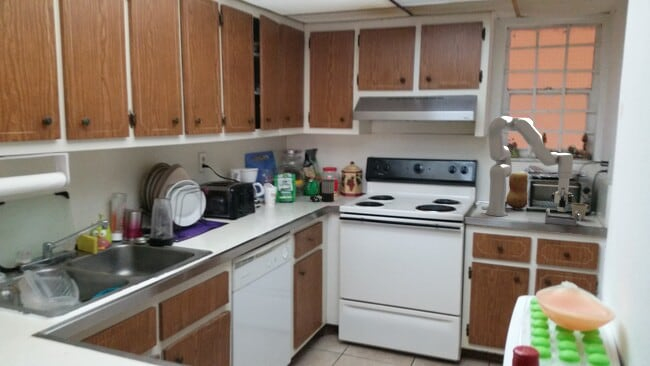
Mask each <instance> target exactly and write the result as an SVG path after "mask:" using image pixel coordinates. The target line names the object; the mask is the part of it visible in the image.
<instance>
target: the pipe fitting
mask: <svg viewBox="0 0 650 366" xmlns="http://www.w3.org/2000/svg"><path fill="white" fill-rule="evenodd" d="M550 211H551V208H550V207H548V208H547V209H546V210H545V220H544V223H545V224H554V225H562V226H563V225H564V226H565V225H566V226H573V227H577V224H578V222H581V221H582V219H581V214H578V211H575V214H574V217H573V216H563V215H552V214H551V212H550Z"/></svg>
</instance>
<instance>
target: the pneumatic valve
mask: <svg viewBox="0 0 650 366" xmlns="http://www.w3.org/2000/svg"><path fill="white" fill-rule="evenodd" d="M564 195H565V194H564ZM550 199H551V200H552V202H553V204H554V203H555V204H558V205H557V206H556V210H557V212H559V213H566V212H567V211H568V205H570V206H571V204H572V203H575V201H576V197H575V195H574V193H571V192H568V193H567V195H566V196H565V201H566V203H565V205H566V206H565V208H563V207H559V200H560V194H559V195H558V191H554V192H553V193H551V195H550Z"/></svg>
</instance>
